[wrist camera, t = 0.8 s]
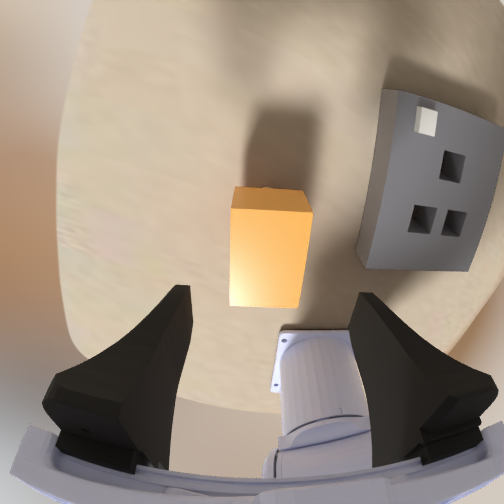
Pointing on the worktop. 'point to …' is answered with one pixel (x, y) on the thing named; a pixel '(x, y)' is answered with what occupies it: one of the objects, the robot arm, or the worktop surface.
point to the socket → (428, 185)
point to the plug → (268, 246)
